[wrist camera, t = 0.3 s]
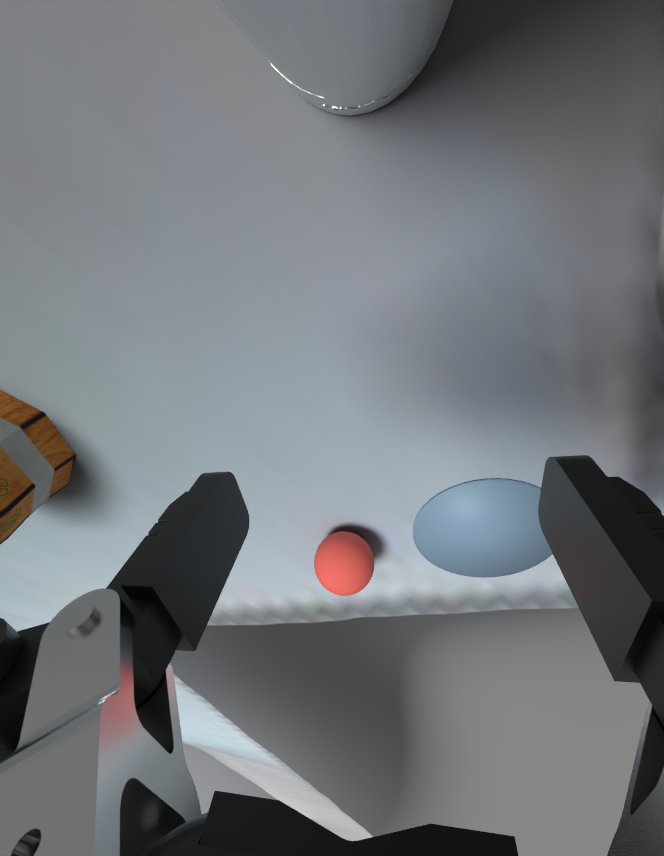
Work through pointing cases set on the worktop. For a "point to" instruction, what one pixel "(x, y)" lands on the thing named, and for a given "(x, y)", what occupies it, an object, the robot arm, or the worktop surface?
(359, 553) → the ball
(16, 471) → the brown wooden cylinder
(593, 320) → the worktop surface
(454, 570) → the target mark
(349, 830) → the worktop surface
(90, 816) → the robot arm
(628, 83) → the worktop surface
